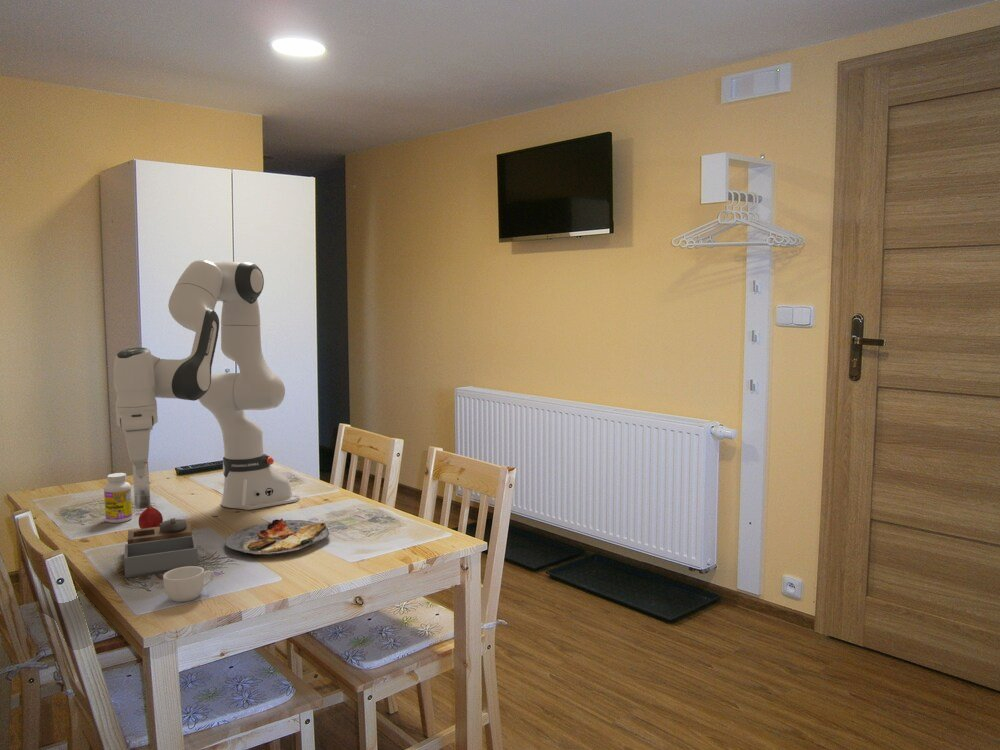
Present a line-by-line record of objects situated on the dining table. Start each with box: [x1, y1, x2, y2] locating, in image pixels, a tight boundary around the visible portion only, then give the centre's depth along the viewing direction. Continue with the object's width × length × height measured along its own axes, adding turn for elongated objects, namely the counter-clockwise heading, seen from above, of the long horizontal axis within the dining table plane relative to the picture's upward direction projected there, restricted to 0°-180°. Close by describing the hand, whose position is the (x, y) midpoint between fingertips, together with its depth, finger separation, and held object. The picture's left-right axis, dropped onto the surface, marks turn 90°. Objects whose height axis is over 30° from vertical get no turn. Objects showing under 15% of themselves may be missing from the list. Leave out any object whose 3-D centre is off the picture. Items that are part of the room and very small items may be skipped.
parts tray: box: [123, 535, 199, 579], centre depth 174 cm, size 15×10×4 cm
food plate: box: [224, 518, 330, 556], centre depth 190 cm, size 25×23×4 cm
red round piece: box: [138, 504, 164, 529], centre depth 196 cm, size 6×6×8 cm
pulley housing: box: [127, 518, 193, 544], centre depth 184 cm, size 14×8×8 cm, turn 115°
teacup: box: [162, 565, 215, 603], centre depth 156 cm, size 10×8×5 cm
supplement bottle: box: [103, 472, 133, 524], centre depth 209 cm, size 7×7×13 cm
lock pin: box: [131, 460, 152, 510], centre depth 181 cm, size 3×3×12 cm
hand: (140, 473), depth 181 cm, fingers closed on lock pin, 3 cm apart
